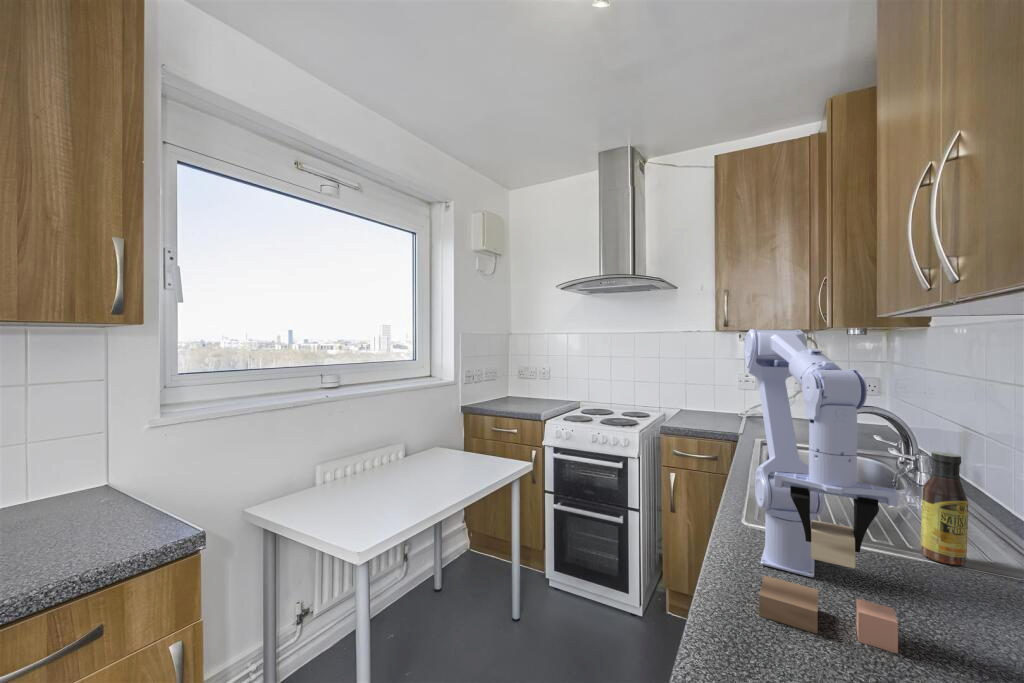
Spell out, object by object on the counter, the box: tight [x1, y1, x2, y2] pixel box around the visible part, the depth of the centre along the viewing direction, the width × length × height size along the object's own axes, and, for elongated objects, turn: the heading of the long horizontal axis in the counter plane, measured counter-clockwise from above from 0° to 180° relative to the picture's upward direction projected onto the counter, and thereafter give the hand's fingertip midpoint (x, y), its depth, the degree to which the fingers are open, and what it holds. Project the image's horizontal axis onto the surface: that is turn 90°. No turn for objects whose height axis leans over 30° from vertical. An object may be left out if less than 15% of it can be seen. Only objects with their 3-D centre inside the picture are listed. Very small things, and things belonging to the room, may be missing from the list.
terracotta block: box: [855, 598, 899, 654], centre depth 60 cm, size 4×4×4 cm
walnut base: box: [758, 575, 819, 635], centre depth 65 cm, size 7×7×3 cm
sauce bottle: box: [919, 451, 969, 566], centre depth 83 cm, size 6×6×20 cm
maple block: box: [811, 520, 856, 569], centre depth 64 cm, size 5×5×4 cm
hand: (831, 544), depth 65 cm, fingers closed on maple block, 5 cm apart
